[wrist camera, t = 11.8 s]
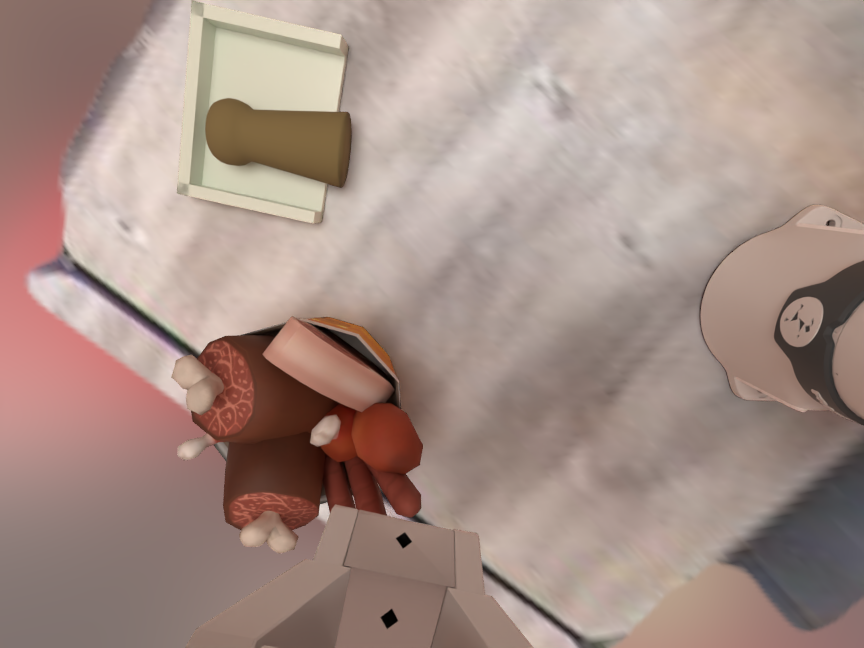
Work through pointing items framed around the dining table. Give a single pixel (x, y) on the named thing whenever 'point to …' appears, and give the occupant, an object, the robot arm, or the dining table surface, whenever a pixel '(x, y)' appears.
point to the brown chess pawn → (281, 139)
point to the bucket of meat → (301, 426)
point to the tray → (255, 103)
